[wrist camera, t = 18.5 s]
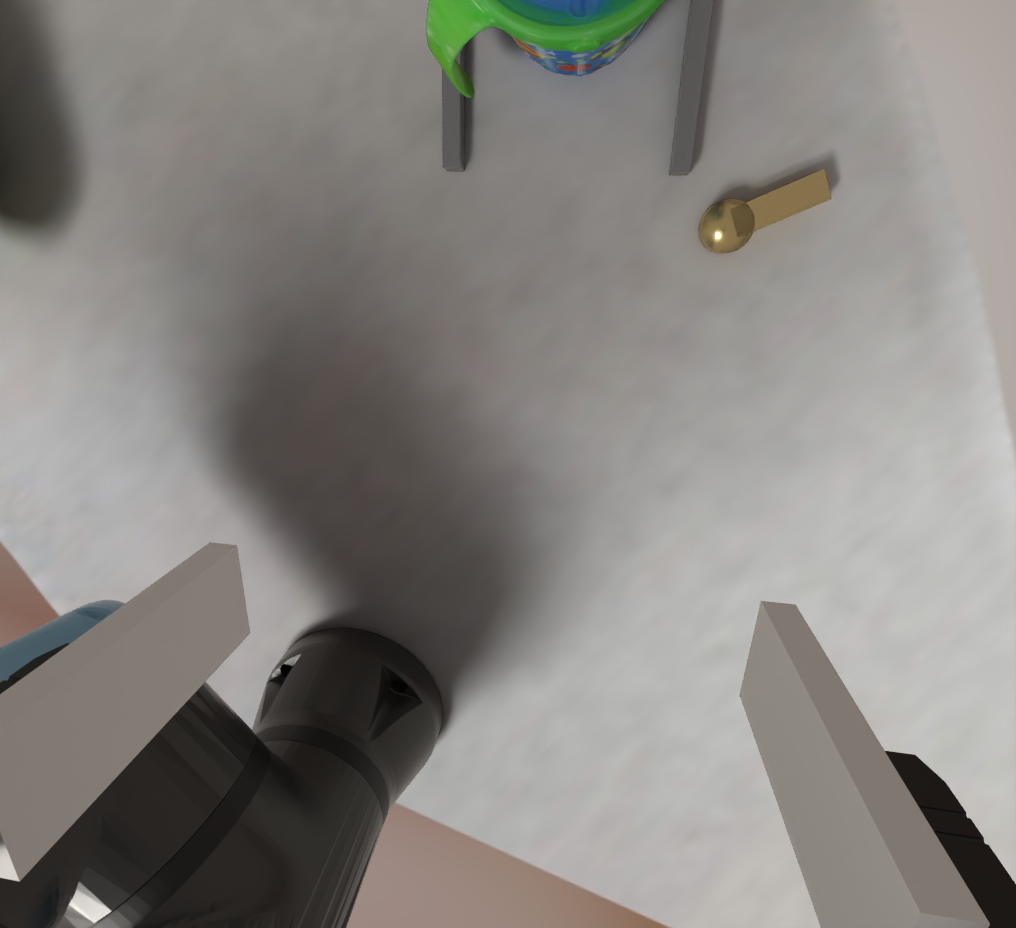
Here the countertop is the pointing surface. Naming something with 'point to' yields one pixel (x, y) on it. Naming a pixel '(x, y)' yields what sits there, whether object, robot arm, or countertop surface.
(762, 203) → the brass key
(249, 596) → the countertop surface
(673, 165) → the bracket
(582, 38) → the snack cup
